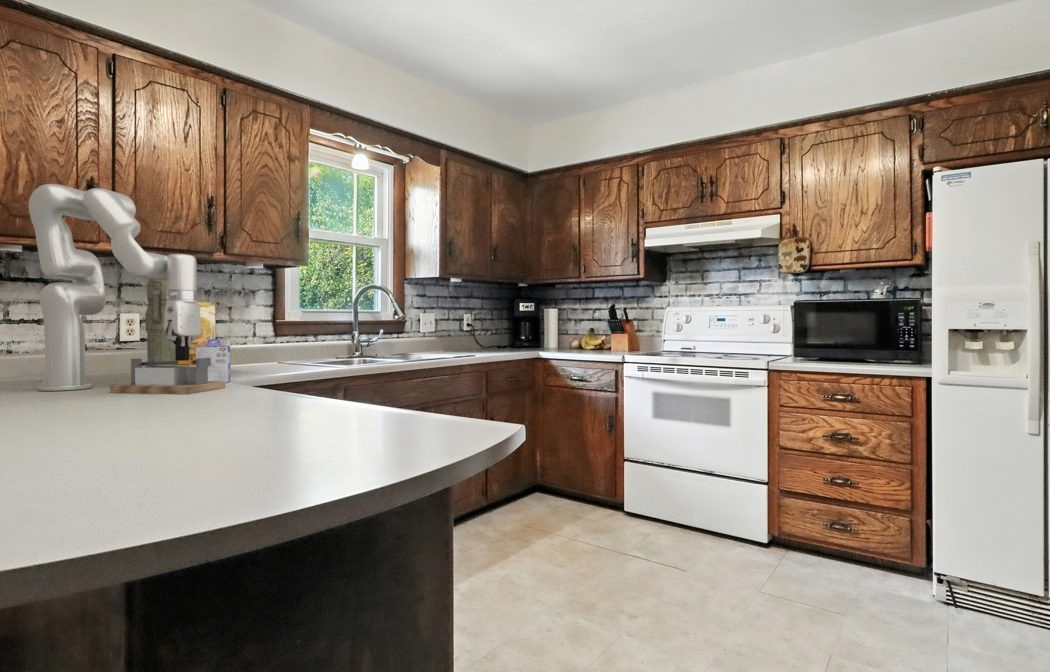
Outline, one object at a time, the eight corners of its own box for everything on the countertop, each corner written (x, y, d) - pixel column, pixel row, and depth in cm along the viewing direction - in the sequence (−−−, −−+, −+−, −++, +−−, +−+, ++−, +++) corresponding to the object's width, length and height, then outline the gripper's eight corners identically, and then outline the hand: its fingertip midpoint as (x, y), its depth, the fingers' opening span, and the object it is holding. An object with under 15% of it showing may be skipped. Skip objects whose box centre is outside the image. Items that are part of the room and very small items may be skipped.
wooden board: (110, 392, 165) (110, 385, 165) (153, 386, 181) (152, 380, 181) (188, 394, 162) (188, 386, 162) (225, 388, 178) (225, 381, 178)
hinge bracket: (131, 384, 169) (131, 358, 169) (150, 381, 177) (150, 357, 176) (138, 384, 169) (138, 358, 169) (158, 382, 176) (157, 357, 176)
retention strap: (133, 366, 170) (133, 362, 170) (149, 365, 176) (149, 361, 176) (191, 363, 168) (190, 360, 168) (205, 362, 174) (204, 358, 174)
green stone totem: (142, 385, 185) (141, 274, 184) (149, 382, 196) (148, 277, 195) (174, 384, 188) (173, 275, 187) (180, 381, 199) (179, 278, 198)
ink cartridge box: (231, 381, 200) (230, 338, 200) (229, 382, 195) (228, 339, 195) (198, 382, 197) (198, 339, 197) (195, 383, 192) (195, 339, 192)
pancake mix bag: (154, 380, 204) (154, 299, 204) (216, 377, 213) (216, 300, 213) (153, 381, 198) (152, 298, 198) (217, 379, 208) (216, 300, 207)
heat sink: (135, 385, 167) (135, 367, 167) (166, 381, 179) (165, 364, 178) (174, 385, 165) (173, 368, 165) (202, 381, 177) (202, 365, 177)
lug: (188, 384, 168) (188, 358, 168) (200, 383, 173) (200, 357, 173) (199, 384, 168) (199, 358, 168) (210, 383, 173) (210, 357, 173)
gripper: (175, 295, 163) (176, 361, 163) (210, 298, 178) (211, 358, 178) (150, 295, 164) (151, 361, 164) (187, 298, 179) (188, 358, 179)
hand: (182, 360), depth 171 cm, fingers closed
